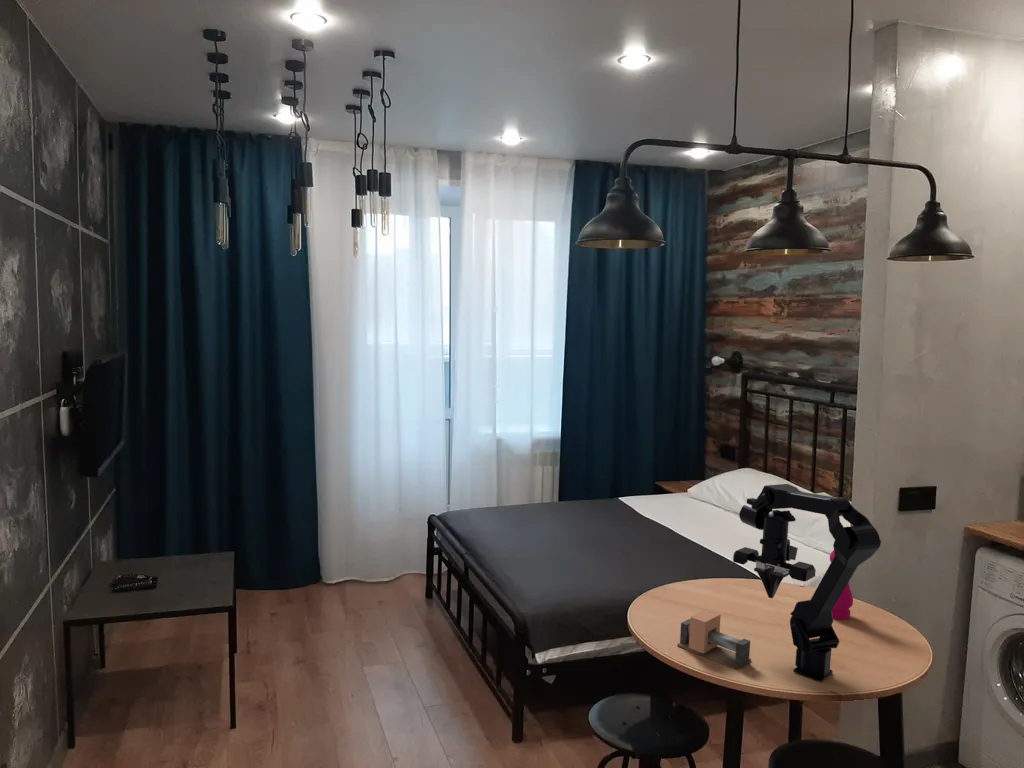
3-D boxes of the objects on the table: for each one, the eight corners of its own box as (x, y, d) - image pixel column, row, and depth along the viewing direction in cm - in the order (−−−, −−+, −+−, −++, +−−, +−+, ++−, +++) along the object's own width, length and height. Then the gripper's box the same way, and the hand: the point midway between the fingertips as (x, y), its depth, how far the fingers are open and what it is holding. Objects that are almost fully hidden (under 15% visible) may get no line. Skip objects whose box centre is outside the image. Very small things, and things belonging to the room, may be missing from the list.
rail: (751, 661, 181) (753, 639, 180) (738, 669, 176) (739, 647, 176) (690, 638, 192) (692, 617, 192) (676, 645, 188) (677, 624, 187)
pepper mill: (838, 608, 214) (843, 538, 212) (857, 618, 207) (863, 546, 205) (817, 611, 212) (822, 540, 210) (836, 622, 205) (842, 548, 203)
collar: (718, 644, 187) (720, 614, 186) (703, 653, 182) (705, 622, 181) (704, 639, 190) (706, 609, 189) (688, 647, 185) (690, 616, 184)
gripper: (827, 538, 186) (822, 600, 188) (755, 521, 199) (751, 579, 201) (807, 547, 178) (802, 612, 180) (733, 529, 191) (730, 590, 193)
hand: (771, 597), depth 188 cm, fingers closed
